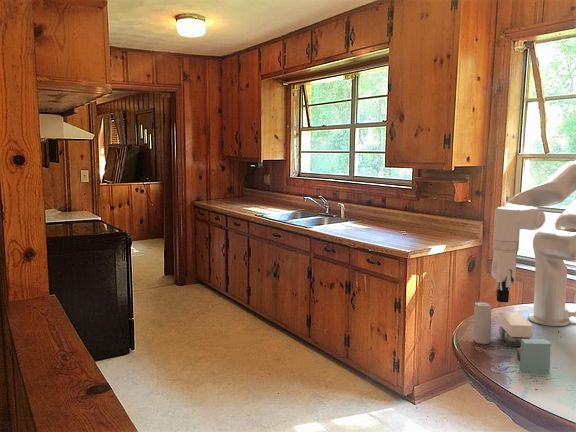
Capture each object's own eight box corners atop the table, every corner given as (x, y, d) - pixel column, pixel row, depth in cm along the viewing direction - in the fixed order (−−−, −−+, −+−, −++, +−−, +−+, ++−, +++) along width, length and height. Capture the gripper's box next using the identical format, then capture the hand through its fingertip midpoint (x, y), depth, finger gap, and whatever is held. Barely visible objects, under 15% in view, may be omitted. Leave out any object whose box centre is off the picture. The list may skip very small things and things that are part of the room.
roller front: (525, 343, 147) (525, 330, 146) (529, 348, 143) (530, 335, 142) (504, 342, 148) (504, 330, 147) (508, 348, 144) (509, 335, 143)
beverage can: (491, 345, 146) (492, 306, 145) (474, 344, 147) (475, 306, 146) (488, 339, 151) (489, 302, 149) (472, 338, 152) (473, 301, 150)
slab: (518, 323, 153) (518, 312, 152) (532, 337, 141) (532, 325, 141) (498, 322, 154) (498, 312, 153) (510, 336, 142) (511, 325, 141)
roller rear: (518, 336, 152) (519, 324, 152) (523, 341, 148) (523, 329, 148) (498, 336, 153) (499, 324, 153) (502, 341, 149) (503, 328, 149)
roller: (537, 352, 137) (541, 345, 134) (541, 364, 134) (545, 357, 132) (515, 352, 138) (518, 345, 135) (519, 363, 135) (522, 356, 133)
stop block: (545, 368, 130) (546, 339, 129) (549, 373, 127) (550, 343, 126) (519, 367, 131) (521, 339, 130) (523, 372, 128) (525, 343, 127)
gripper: (486, 241, 162) (484, 294, 164) (500, 249, 148) (497, 308, 150) (510, 242, 161) (507, 295, 163) (526, 250, 147) (522, 309, 149)
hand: (502, 301), depth 157 cm, fingers closed
